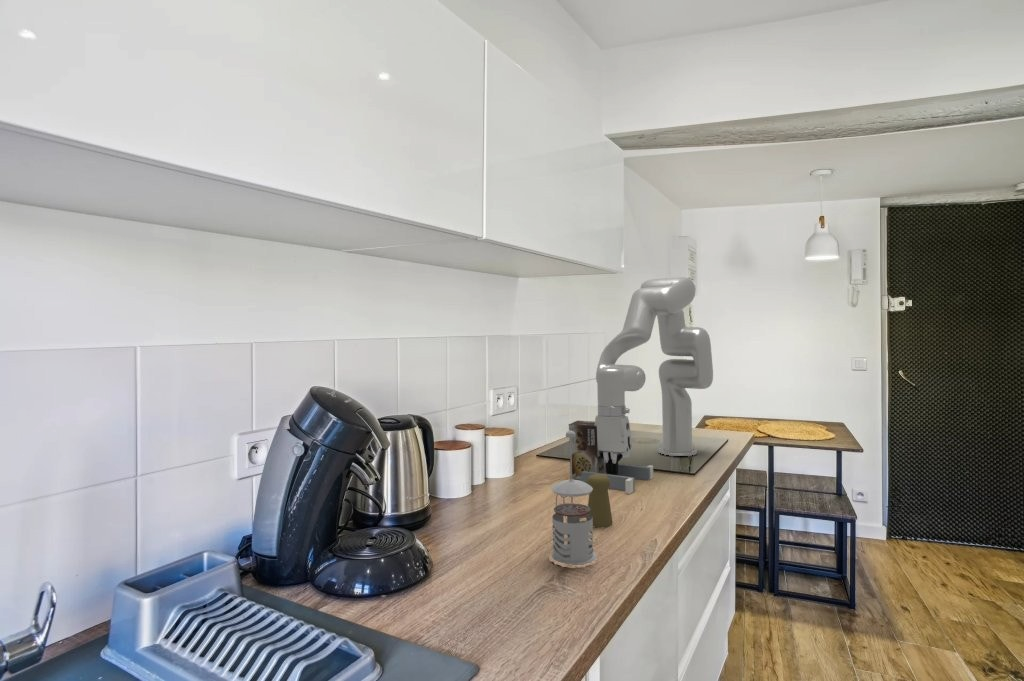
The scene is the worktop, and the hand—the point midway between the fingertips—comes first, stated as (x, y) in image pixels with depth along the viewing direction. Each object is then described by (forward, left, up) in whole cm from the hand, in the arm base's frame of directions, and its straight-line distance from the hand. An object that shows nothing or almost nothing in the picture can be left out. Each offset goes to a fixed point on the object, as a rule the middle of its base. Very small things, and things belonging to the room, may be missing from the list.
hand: (612, 476), depth 170 cm
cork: (+33, +11, -2) cm, 34 cm away
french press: (+53, +14, -2) cm, 55 cm away
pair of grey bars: (0, +1, -2) cm, 2 cm away
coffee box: (-1, -8, -2) cm, 8 cm away
